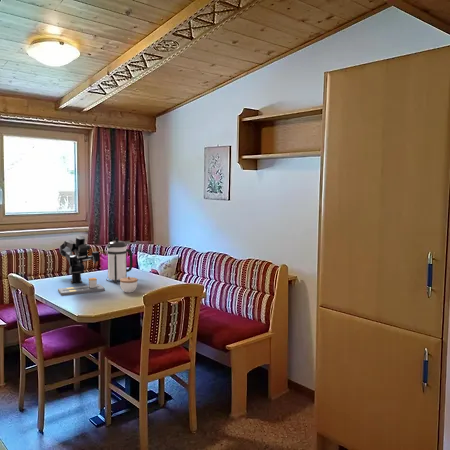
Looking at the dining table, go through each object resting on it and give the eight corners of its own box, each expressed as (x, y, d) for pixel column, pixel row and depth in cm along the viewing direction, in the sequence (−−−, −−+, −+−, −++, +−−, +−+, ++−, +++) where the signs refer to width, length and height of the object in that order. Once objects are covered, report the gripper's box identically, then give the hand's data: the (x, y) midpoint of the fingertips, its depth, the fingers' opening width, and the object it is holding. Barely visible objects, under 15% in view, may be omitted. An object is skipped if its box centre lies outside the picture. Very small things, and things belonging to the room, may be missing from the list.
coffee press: (127, 283, 306) (126, 239, 303) (103, 282, 306) (102, 238, 303) (132, 277, 323) (132, 235, 320) (110, 277, 323) (109, 235, 320)
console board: (57, 290, 283) (57, 288, 283) (99, 286, 296) (99, 283, 296) (61, 295, 273) (61, 292, 273) (104, 290, 286) (104, 288, 286)
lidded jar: (141, 290, 287) (141, 276, 286) (129, 294, 278) (129, 279, 277) (128, 288, 293) (128, 274, 292) (116, 291, 284) (116, 277, 283)
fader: (88, 286, 289) (88, 278, 288) (95, 285, 291) (95, 277, 290) (90, 287, 285) (90, 279, 285) (96, 287, 287) (96, 278, 287)
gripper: (65, 244, 287) (72, 255, 276) (94, 240, 297) (102, 250, 286) (66, 260, 292) (73, 271, 280) (95, 255, 302) (103, 265, 290)
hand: (88, 264), depth 284 cm, fingers open, 9 cm apart
